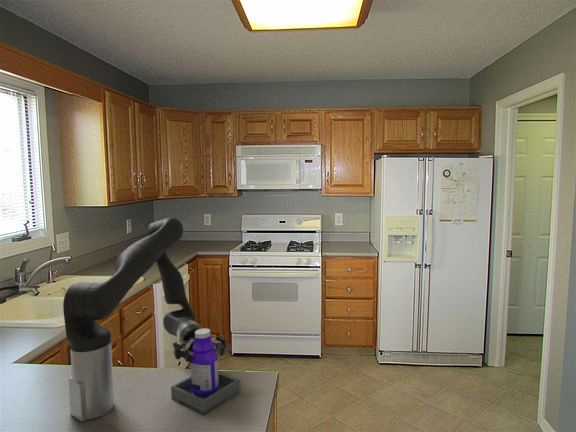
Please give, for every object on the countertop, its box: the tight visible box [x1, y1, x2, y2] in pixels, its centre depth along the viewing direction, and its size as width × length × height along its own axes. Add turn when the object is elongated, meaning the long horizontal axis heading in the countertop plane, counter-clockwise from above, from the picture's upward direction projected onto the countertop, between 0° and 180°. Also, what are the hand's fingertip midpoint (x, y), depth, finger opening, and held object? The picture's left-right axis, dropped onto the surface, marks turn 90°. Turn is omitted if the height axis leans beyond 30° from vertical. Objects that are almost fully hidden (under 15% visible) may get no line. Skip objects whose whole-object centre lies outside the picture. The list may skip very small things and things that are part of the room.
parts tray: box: [170, 371, 241, 416], centre depth 101 cm, size 13×13×4 cm
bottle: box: [190, 328, 219, 396], centre depth 100 cm, size 7×6×17 cm
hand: (206, 355), depth 99 cm, fingers open, 8 cm apart
